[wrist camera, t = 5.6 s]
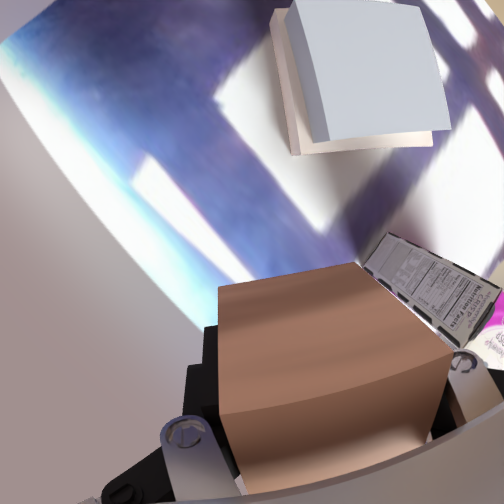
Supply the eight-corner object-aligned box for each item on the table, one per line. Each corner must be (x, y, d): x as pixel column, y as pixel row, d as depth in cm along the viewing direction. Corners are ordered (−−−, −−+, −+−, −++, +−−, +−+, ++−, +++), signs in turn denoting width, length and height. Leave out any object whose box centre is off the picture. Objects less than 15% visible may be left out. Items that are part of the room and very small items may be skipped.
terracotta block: (217, 286, 11) (219, 415, 5) (354, 261, 11) (453, 351, 5) (241, 391, 12) (256, 513, 7) (353, 367, 13) (413, 470, 7)
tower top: (283, 19, 20) (294, -2, 16) (396, 21, 20) (419, 7, 16) (313, 143, 23) (330, 140, 19) (424, 131, 24) (451, 129, 20)
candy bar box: (443, 278, 32) (541, 345, 16) (420, 313, 33) (507, 392, 17) (386, 226, 29) (506, 287, 14) (358, 267, 30) (460, 356, 15)
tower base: (268, 26, 23) (275, 8, 20) (388, 30, 24) (407, 18, 20) (290, 155, 27) (301, 155, 23) (410, 146, 28) (433, 146, 24)
